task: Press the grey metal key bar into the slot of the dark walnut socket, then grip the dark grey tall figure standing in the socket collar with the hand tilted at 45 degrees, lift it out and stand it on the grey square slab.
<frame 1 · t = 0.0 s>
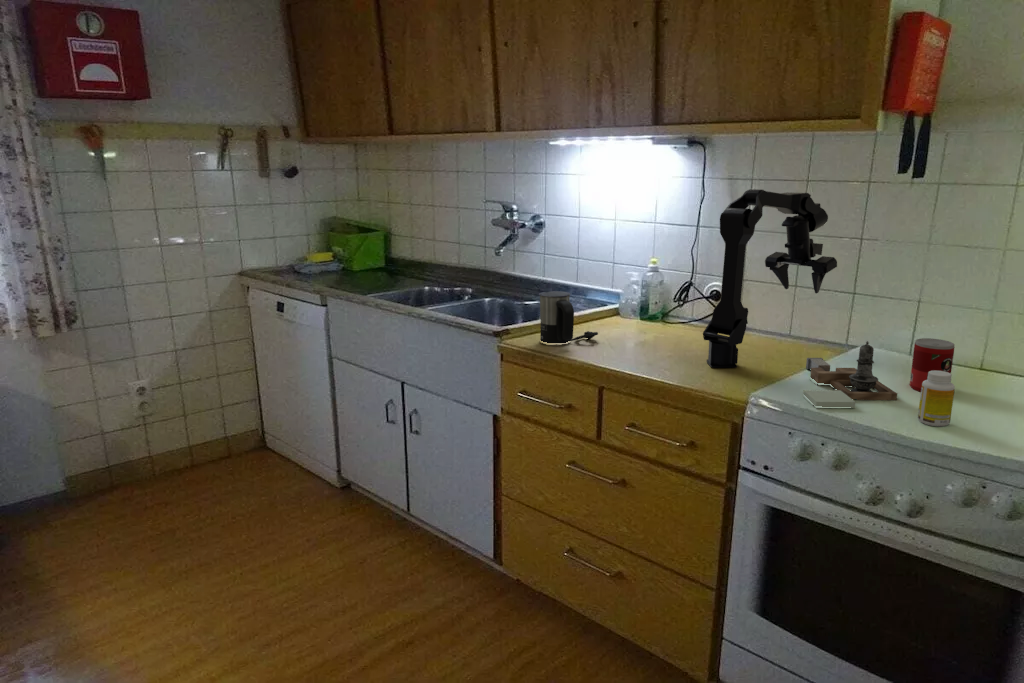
hand: (801, 290, 200), 15 cm above the countertop, tool pointing down, fingers open, 9 cm apart
key bar: (818, 366, 175), point 1 cm above the countertop, slide at 0.0 cm
grey square slab: (828, 402, 153), on the countertop
dark grey tall figure: (861, 393, 159), resting in socket
supplement bottle: (933, 423, 141), on the countertop
canned food: (928, 389, 161), on the countertop
socket: (862, 392, 159), on the countertop
milk frother: (568, 342, 210), on the countertop
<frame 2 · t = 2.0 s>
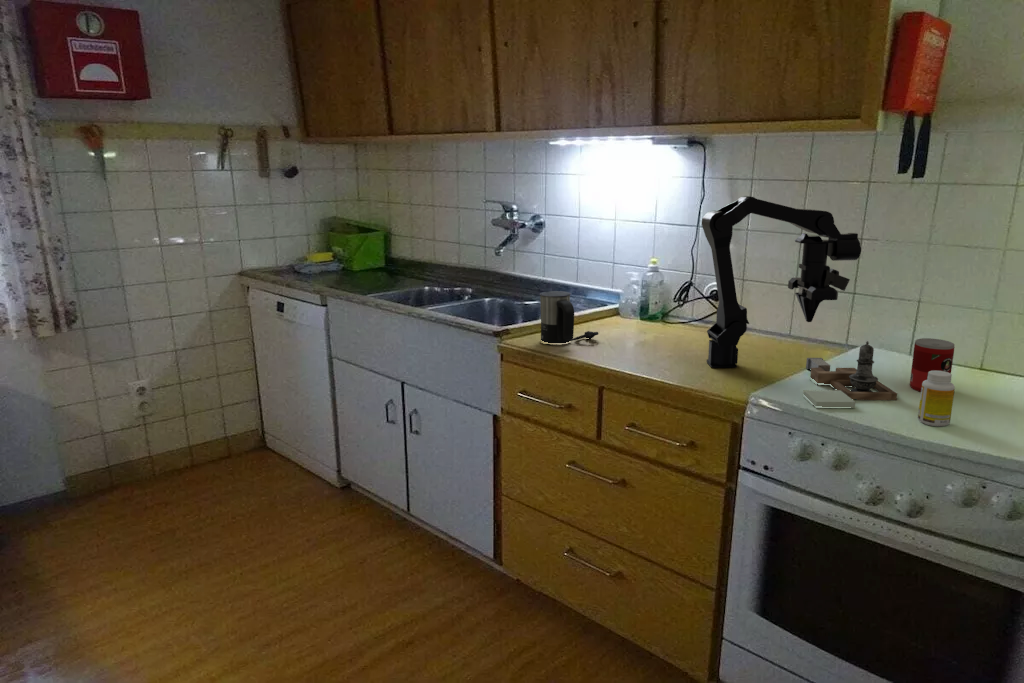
hand: (808, 321, 181), 11 cm above the countertop, tool pointing down, fingers closed
nothing on the countertop moved.
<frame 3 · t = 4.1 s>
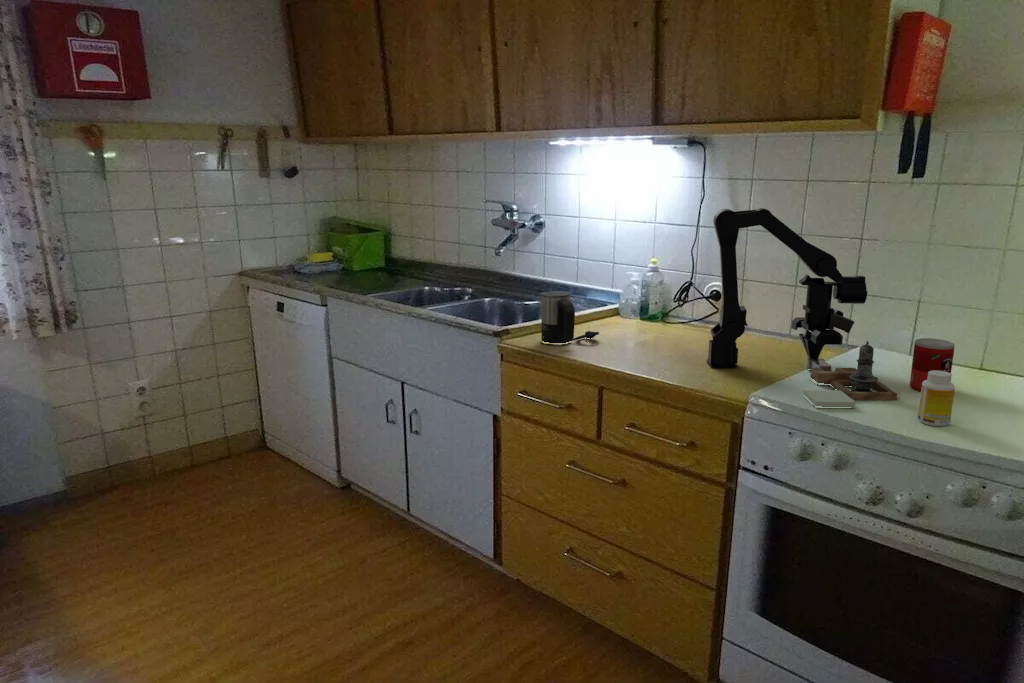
hand: (812, 363, 179), 1 cm above the countertop, tool pointing down, fingers closed
key bar: (819, 367, 174), point 2 cm above the countertop, slide at 0.8 cm, touching gripper
everything else where it was.
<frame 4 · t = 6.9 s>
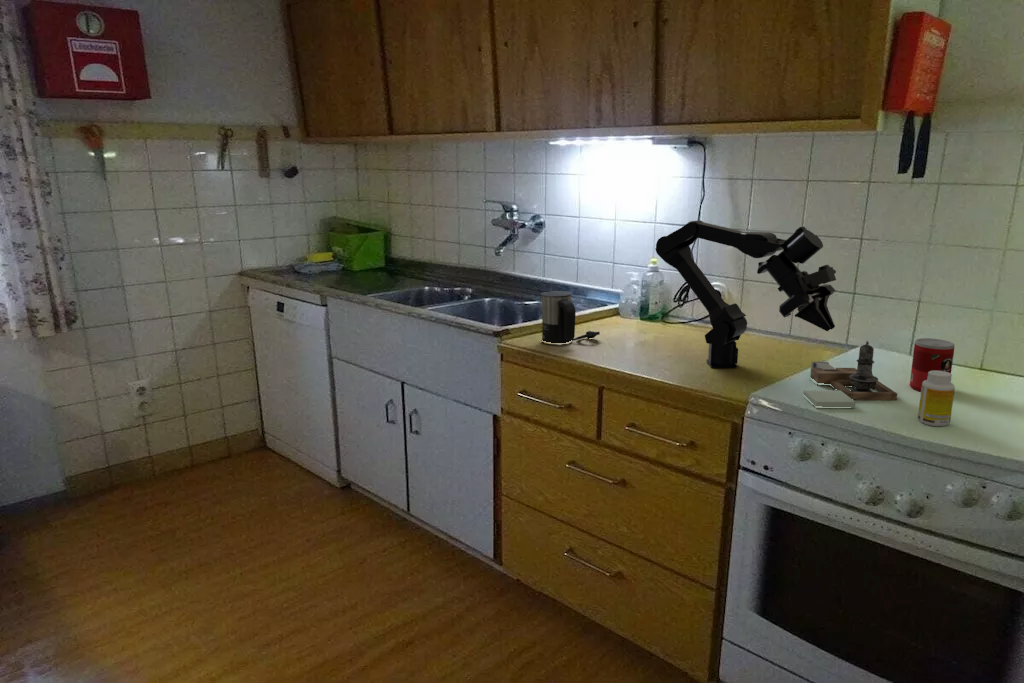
hand: (831, 329, 162), 13 cm above the countertop, tool tilted 45°, fingers closed
key bar: (824, 371, 171), point 1 cm above the countertop, slide at 3.6 cm
everything else where it was.
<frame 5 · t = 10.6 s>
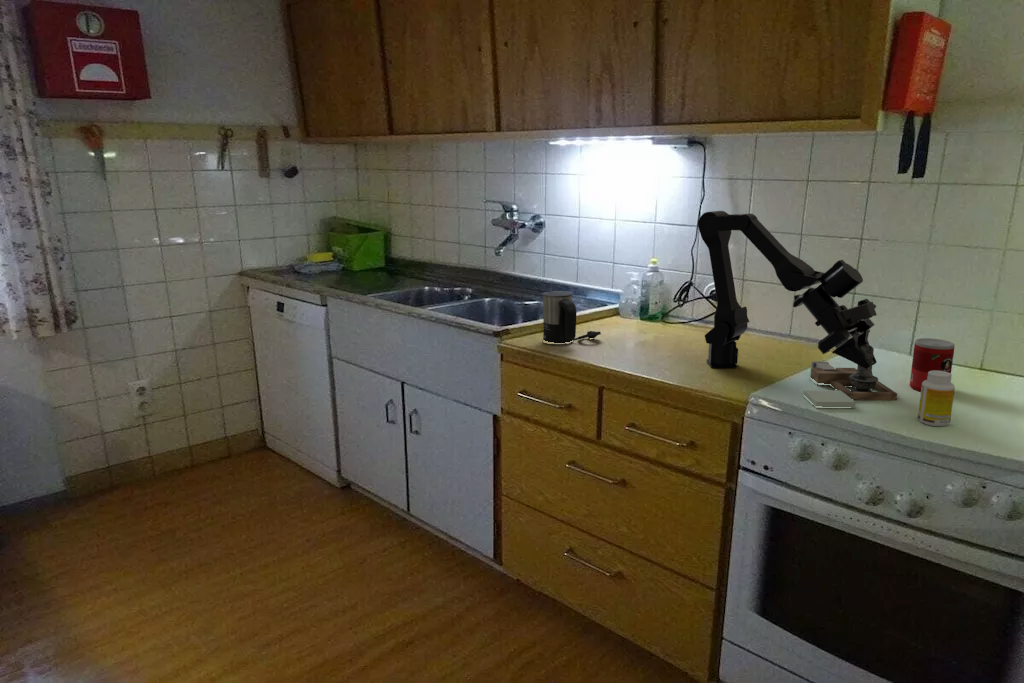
hand: (871, 365, 157), 7 cm above the countertop, tool tilted 45°, fingers closed on dark grey tall figure, 4 cm apart
dark grey tall figure: (861, 393, 159), resting in socket, touching gripper
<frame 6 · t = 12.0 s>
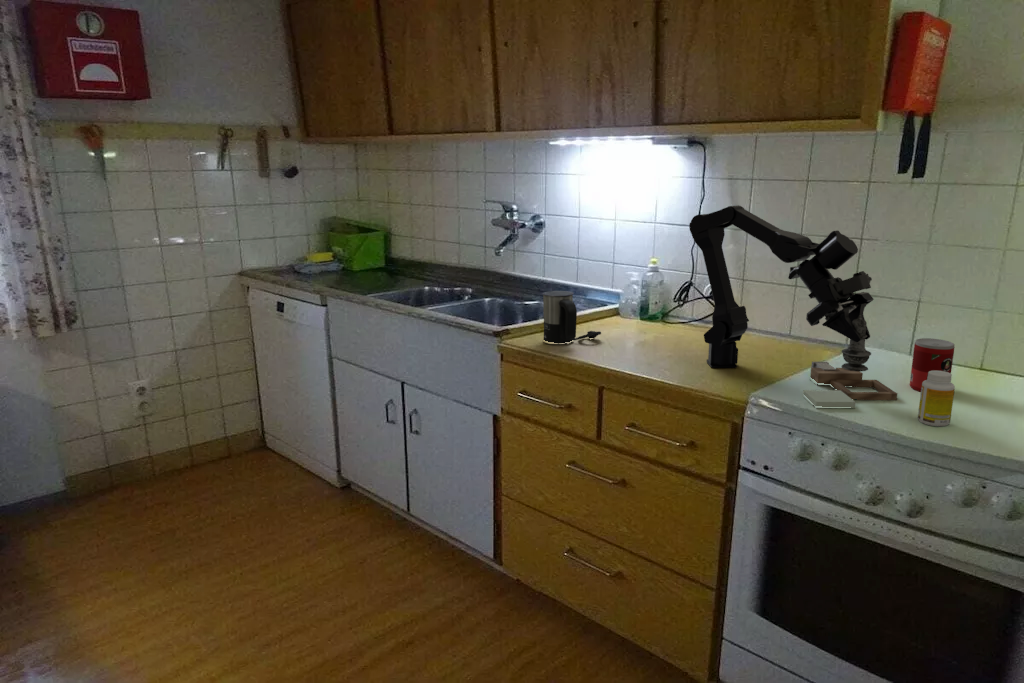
hand: (863, 339, 153), 13 cm above the countertop, tool tilted 45°, fingers closed on dark grey tall figure, 4 cm apart
dark grey tall figure: (854, 368, 155), point 6 cm above the countertop, touching gripper
when the fingers open (9 cm above the countertop, at t = 13.5 s): dark grey tall figure drops 1 cm, resting on grey square slab.
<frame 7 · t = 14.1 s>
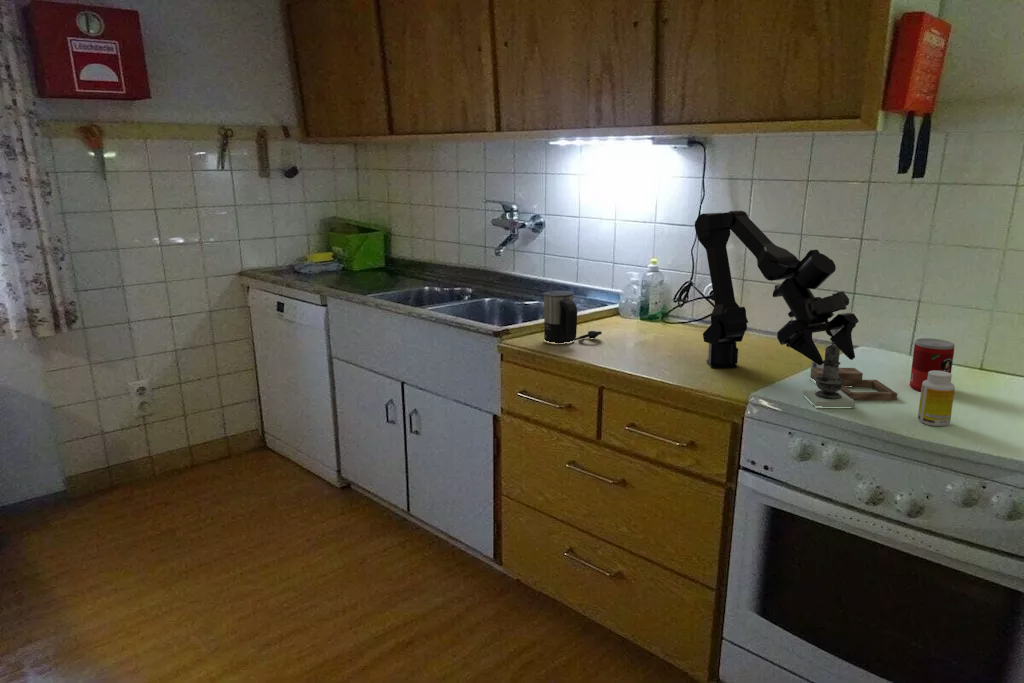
hand: (837, 361, 150), 10 cm above the countertop, tool tilted 45°, fingers open, 9 cm apart
dark grey tall figure: (828, 396, 153), point 1 cm above the countertop, touching grey square slab
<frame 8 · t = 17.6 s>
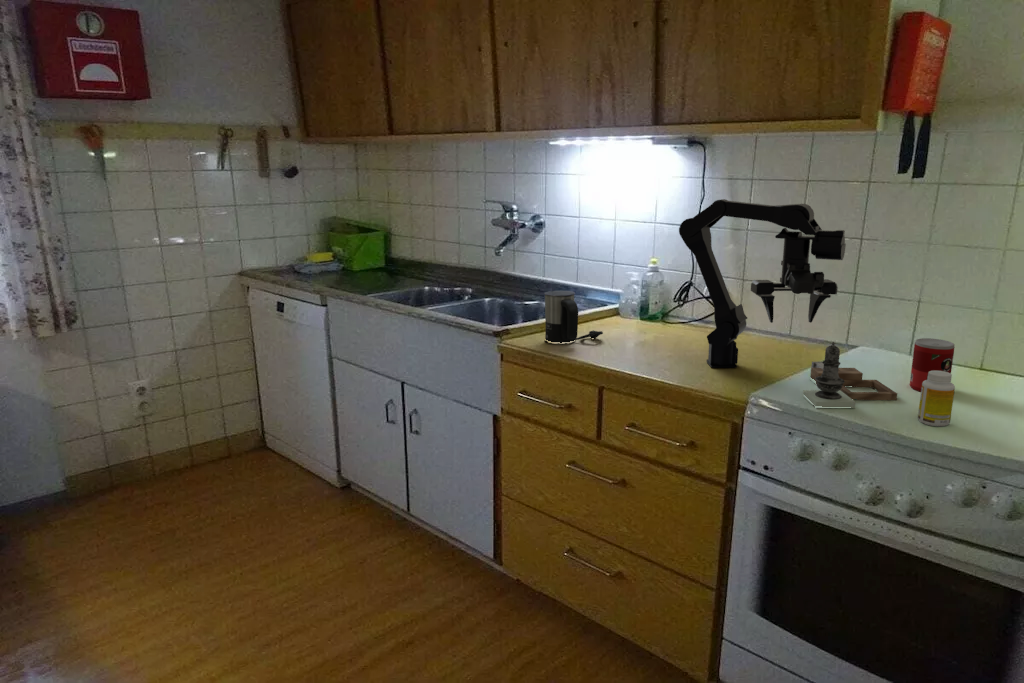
hand: (790, 322, 172), 13 cm above the countertop, tool pointing down, fingers open, 9 cm apart
at the end: key bar slide at 3.6 cm; dark grey tall figure inside the target area on the grey square slab (0.2 cm from its centre), point 1.3 cm above the grey square slab's base; dark grey tall figure tilted 0° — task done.
